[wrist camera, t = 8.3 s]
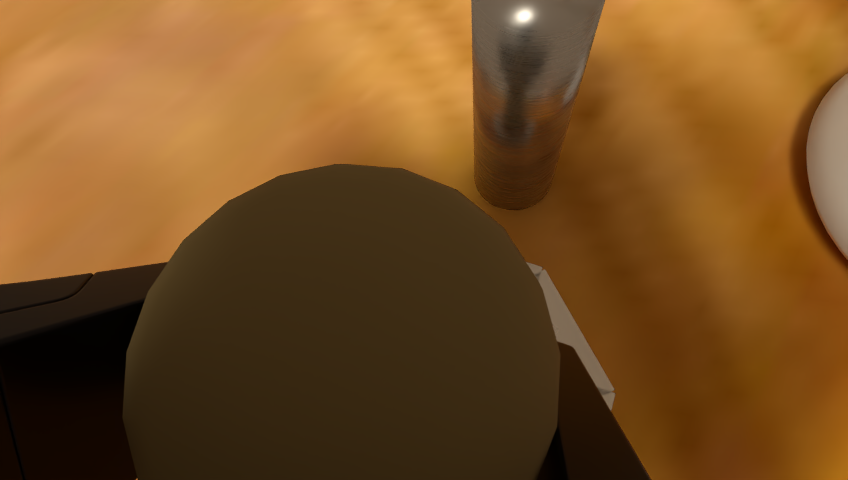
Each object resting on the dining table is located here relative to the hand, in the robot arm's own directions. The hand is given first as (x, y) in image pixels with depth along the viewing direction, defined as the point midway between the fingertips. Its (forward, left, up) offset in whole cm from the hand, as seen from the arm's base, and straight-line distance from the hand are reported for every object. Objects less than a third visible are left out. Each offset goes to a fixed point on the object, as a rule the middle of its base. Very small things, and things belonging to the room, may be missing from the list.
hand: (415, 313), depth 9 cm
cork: (-1, -1, -7) cm, 7 cm away
